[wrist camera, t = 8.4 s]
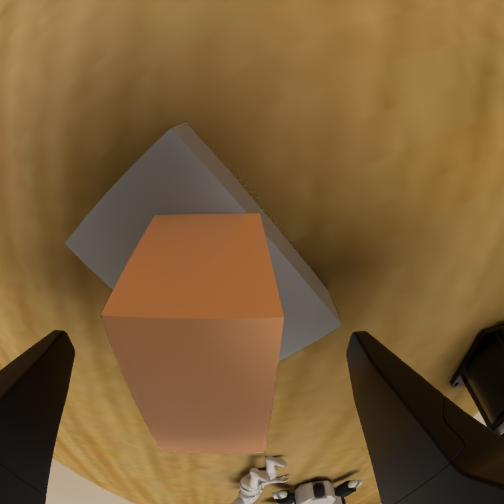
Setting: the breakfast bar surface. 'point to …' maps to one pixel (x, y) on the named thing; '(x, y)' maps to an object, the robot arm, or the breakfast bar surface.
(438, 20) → the breakfast bar surface
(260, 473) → the white plastic figure
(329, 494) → the robot toy
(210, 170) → the grey brick
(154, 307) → the orange brick
